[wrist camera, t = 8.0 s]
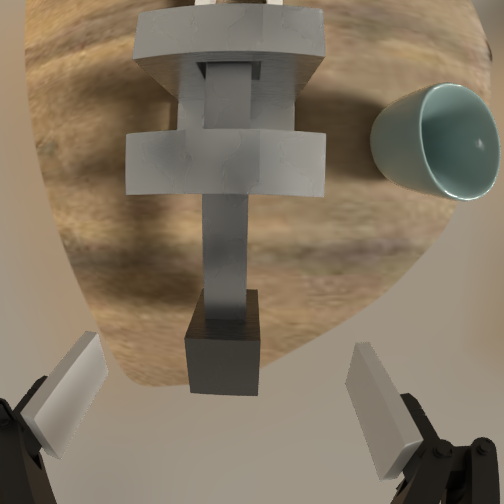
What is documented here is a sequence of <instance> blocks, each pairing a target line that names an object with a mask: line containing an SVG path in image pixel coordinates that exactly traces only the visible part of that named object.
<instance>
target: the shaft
mask: <svg viewBox="0 0 504 504" xmlns="http://www.w3.org/2000/svg"><path fill="white" fill-rule="evenodd" d="M251 75H252V61H216V62H207V65H206V82H205V103H204V129H250V111H251ZM202 233H203V279H204V288H203V290H202V292H201V295H200V298H199V300H198V303H197V305H196V308H195V311H194V313H193V316H192V319H191V322H190V324H189V327H188V330H187V332H186V335H185V338H184V339H185V349H186V359H187V368H188V376H189V384H190V392H191V393H200V394H215V395H237V396H258V381H259V362H260V324H259V308H258V291H257V290H248V289H246V282H247V234H248V194H202Z"/></svg>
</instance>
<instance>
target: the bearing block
mask: <svg viewBox="0 0 504 504" xmlns="http://www.w3.org/2000/svg"><path fill="white" fill-rule="evenodd" d="M325 57H326V56H325V33H324V16H323V9H316V8H308V7H300V6H289V5H276V4H253V3H229V4H206V5H193V6H183V7H174V8H167V9H160V10H153V11H148V12H142V13H139V18H138V23H137V29H136V36H135V42H134V49H133V57H132V60H133V61H135V62H136V63H137V64H138V65H139V66H140V67H141V68H143V69H144V70H145V71H146V72H147V73H148V74H149V75H150V76H152V77H153V78H154V79H155V80H156V81H157V82H158V83H159V84H161V85H162V86H163V87H164V88H165V89H166V90H167V91H168V92H169V93H170V94H171V95H173V96H174V97H175V98H176V99H177V100H178V122H177V130H168V131H153V132H141V133H130V134H126V195H143V194H262V195H290V196H312V197H324V183H325V158H326V133H315V132H303V131H294V121H295V100H296V99H297V97H298V96H299V95H300V93H301V92H302V90H303V89H304V87H305V86H306V84H307V83H308V81H309V80H310V78H311V77H312V75H313V74H314V72H315V71H316V70H317V68H318V67H319V65H320V64H321V62H322V61H323V60H324V58H325ZM216 61H252V75H251V111H250V129H204V103H205V82H206V65H207V62H216Z"/></svg>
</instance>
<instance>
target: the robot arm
mask: <svg viewBox="0 0 504 504" xmlns="http://www.w3.org/2000/svg"><path fill="white" fill-rule="evenodd" d="M108 374H109V372H108V369H107V366H106V362H105V359H104V355H103V351H102V348H101V344H100V340H99V336H98V333H96V332H88V331H86V332H85V333H84V334H83V335H82V336H81V337H80V338H79V340H78V341H77V342H76V343H75V344H74V346H73V347H72V348H71V349H70V351H69V352H68V353H67V354H66V355H65V356H64V358H63V359H62V360H61V361H60V363H59V364H58V365H57V366H56V368H55V369H54V370H53V371H52V373H51V374H50V375H49V376H43V377H41V378H40V379H38V380H37V381H36V382H35V383H34V384H33V386H32V387H31V389H29V390H28V392H27V394H25V396H24V397H23V398H22V399H21V401H20V402H19V403H18V405H17V406H16V407H15V409H14V410H13V411H12V409H11V407H10V406H9V404H8V402H7V401H6V400H5V399H2V398H0V504H57V503H56V500H55V497H54V494H53V492H52V489H51V486H50V483H49V479H48V477H47V473H46V470H45V466H44V463H43V459H42V456H41V454H40V452H39V451H40V449H41V447H42V448H43V449H44V451H45V452H46V453H47V454H48V455H50V456H52V457H55V458H57V459H61V458H62V456H63V454H64V452H65V450H66V448H67V446H68V444H69V442H70V441H71V439H72V437H73V435H74V433H75V431H76V430H77V428H78V426H79V424H80V422H81V420H82V418H83V417H84V415H85V413H86V411H87V410H88V408H89V406H90V404H91V402H92V401H93V399H94V397H95V396H96V394H97V392H98V390H99V389H100V387H101V385H102V384H103V382H104V380H105V379H106V377H107V375H108ZM345 384H346V387H347V390H348V392H349V395H350V398H351V400H352V403H353V406H354V408H355V411H356V414H357V417H358V419H359V422H360V425H361V428H362V430H363V433H364V436H365V439H366V442H367V445H368V447H369V450H370V453H371V456H372V459H373V462H374V465H375V468H376V471H377V473H378V477H379V480H380V482H383V481H387V480H391V479H395V478H397V477H398V476H399V474H400V473H401V472H402V471H403V474H404V476H405V478H404V479H403V481H402V482H401V483H400V484H399V485H398V487H397V488H396V489H397V492H396V494H395V496H394V498H393V500H392V502H391V504H439V503H440V501H441V504H500V489H499V473H498V461H497V452H496V447H495V444H494V443H493V442H492V441H491V440H490V439H488V438H485V437H481V438H477V439H475V440H474V441H473V443H472V444H471V445H470V446H458V447H455V446H453V445H452V444H451V443H450V442H448V441H446V440H443V439H440V438H439V437H438V436H437V433H436V432H435V430H434V428H433V426H432V425H431V423H430V421H429V419H428V418H427V416H425V412H424V411H423V409H422V407H421V406H420V404H419V402H418V401H417V399H416V398H414V397H413V396H412V395H411V394H409V393H406V394H400V395H399V393H398V391H397V389H396V387H395V386H394V384H393V382H392V381H391V379H390V377H389V375H388V373H387V372H386V370H385V368H384V366H383V365H382V363H381V361H380V359H379V358H378V356H377V354H376V353H375V351H374V349H373V347H372V346H371V344H370V343H369V342H365V343H364V342H363V343H356V344H355V347H354V352H353V356H352V360H351V364H350V368H349V372H348V375H347V379H346V383H345Z"/></svg>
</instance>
